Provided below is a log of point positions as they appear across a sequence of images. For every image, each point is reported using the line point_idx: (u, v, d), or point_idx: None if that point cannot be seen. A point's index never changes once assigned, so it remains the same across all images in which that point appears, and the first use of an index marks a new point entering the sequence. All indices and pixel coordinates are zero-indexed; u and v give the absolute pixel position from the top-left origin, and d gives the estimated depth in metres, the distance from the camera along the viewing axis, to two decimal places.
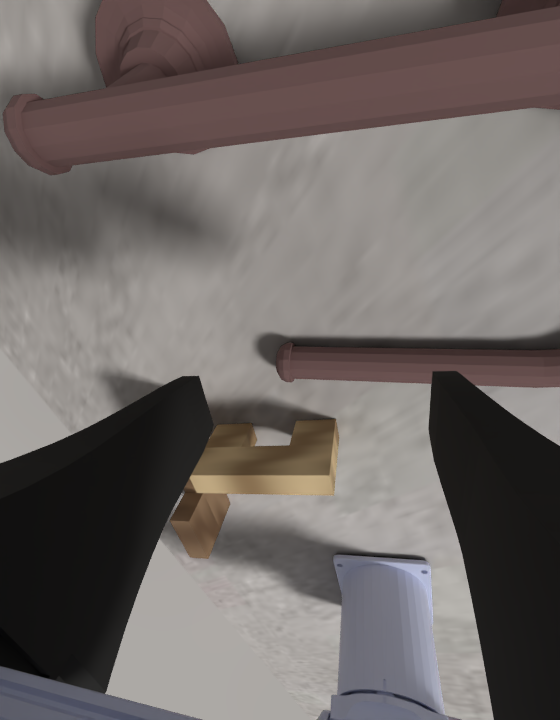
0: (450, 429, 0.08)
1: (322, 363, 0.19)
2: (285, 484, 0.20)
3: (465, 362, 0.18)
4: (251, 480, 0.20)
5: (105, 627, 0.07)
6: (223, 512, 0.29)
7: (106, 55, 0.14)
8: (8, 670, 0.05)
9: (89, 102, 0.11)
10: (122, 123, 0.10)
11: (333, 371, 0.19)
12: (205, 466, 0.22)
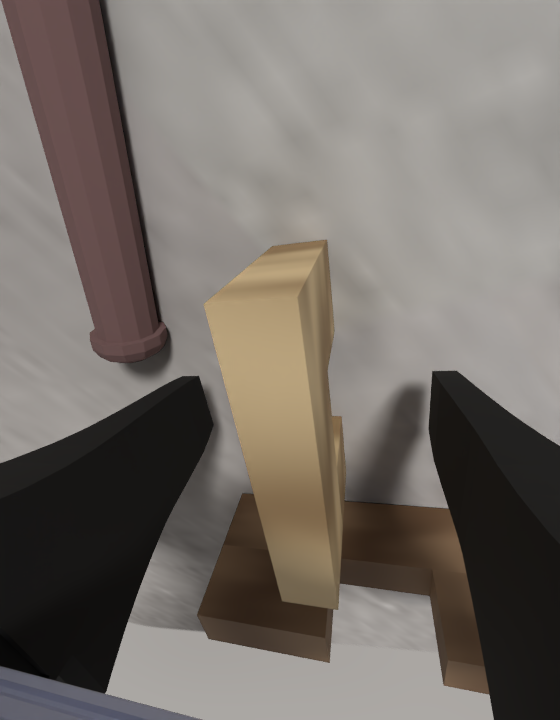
0: (450, 429, 0.08)
1: (84, 280, 0.10)
2: (273, 433, 0.07)
3: None
4: (274, 502, 0.08)
5: (105, 627, 0.07)
6: None
7: None
8: (8, 670, 0.05)
9: None
10: None
11: (87, 259, 0.09)
12: None
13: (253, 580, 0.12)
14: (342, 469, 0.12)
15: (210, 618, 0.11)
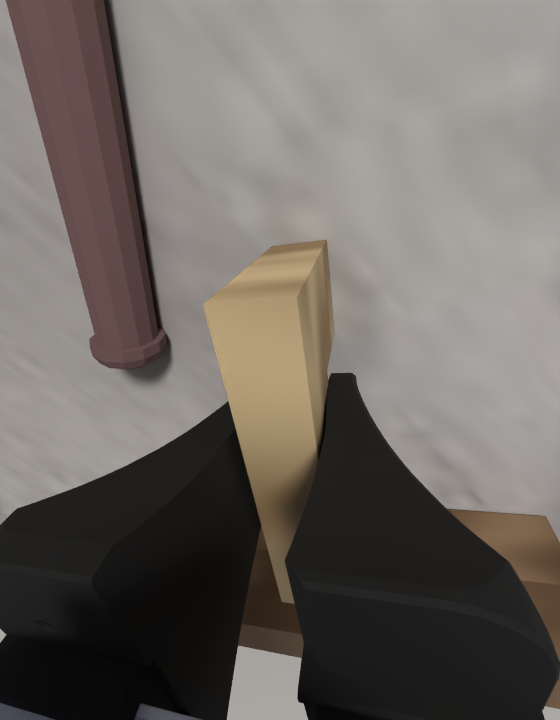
0: None
1: (85, 288, 0.10)
2: (272, 433, 0.07)
3: None
4: (273, 503, 0.08)
5: (224, 652, 0.06)
6: (546, 549, 0.12)
7: None
8: (171, 714, 0.04)
9: None
10: None
11: (89, 268, 0.09)
12: None
13: (253, 580, 0.12)
14: None
15: None
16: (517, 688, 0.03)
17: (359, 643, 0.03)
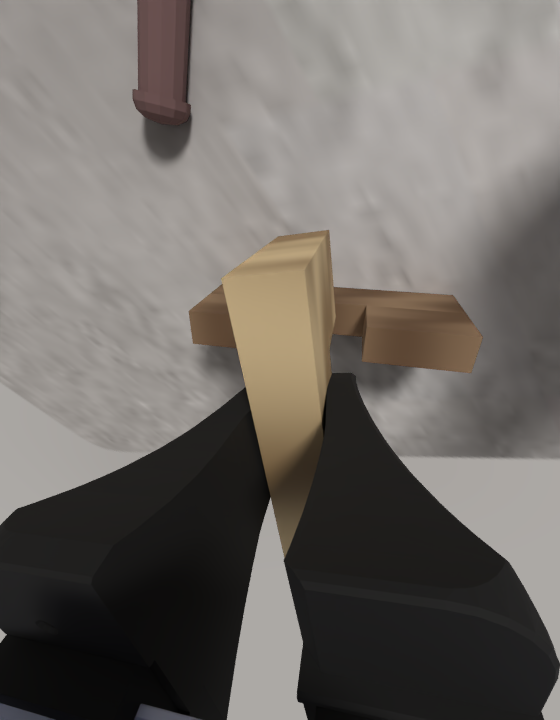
0: None
1: (142, 31, 0.13)
2: (280, 399, 0.07)
3: None
4: (280, 467, 0.08)
5: (224, 652, 0.06)
6: (448, 303, 0.16)
7: None
8: (171, 714, 0.04)
9: None
10: None
11: (150, 8, 0.13)
12: None
13: None
14: None
15: (198, 315, 0.15)
16: (516, 688, 0.03)
17: (358, 643, 0.03)
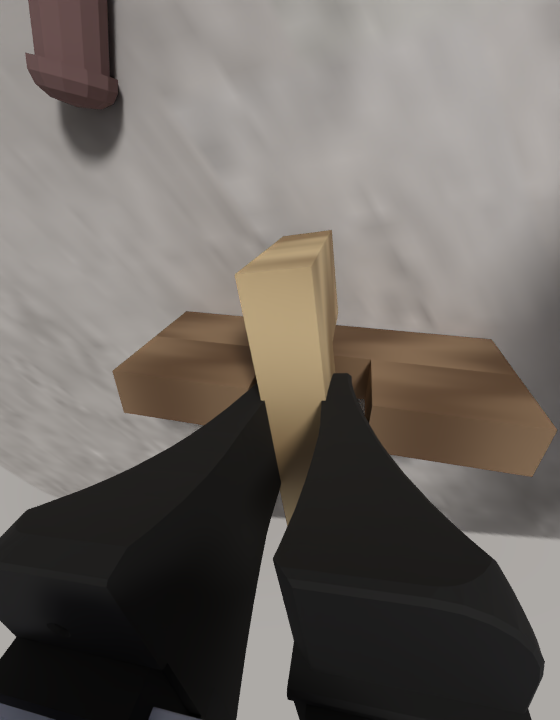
0: None
1: None
2: (288, 386, 0.08)
3: None
4: (287, 452, 0.09)
5: (233, 653, 0.06)
6: (487, 355, 0.11)
7: None
8: (184, 717, 0.04)
9: None
10: None
11: None
12: None
13: (181, 355, 0.11)
14: None
15: (127, 376, 0.10)
16: (502, 685, 0.03)
17: (346, 640, 0.03)
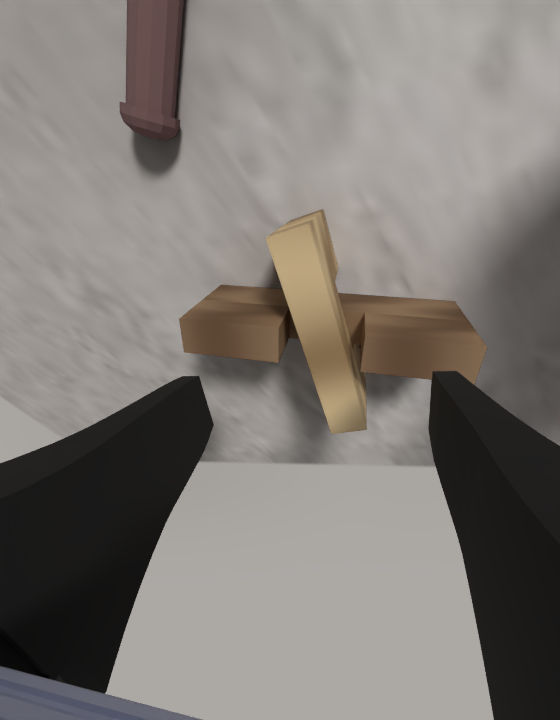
0: (450, 429, 0.08)
1: (131, 44, 0.13)
2: (308, 304, 0.13)
3: None
4: (315, 353, 0.14)
5: (105, 627, 0.07)
6: (449, 310, 0.15)
7: None
8: (8, 670, 0.05)
9: None
10: None
11: (139, 22, 0.12)
12: None
13: (226, 310, 0.15)
14: None
15: (189, 322, 0.14)
16: None
17: None
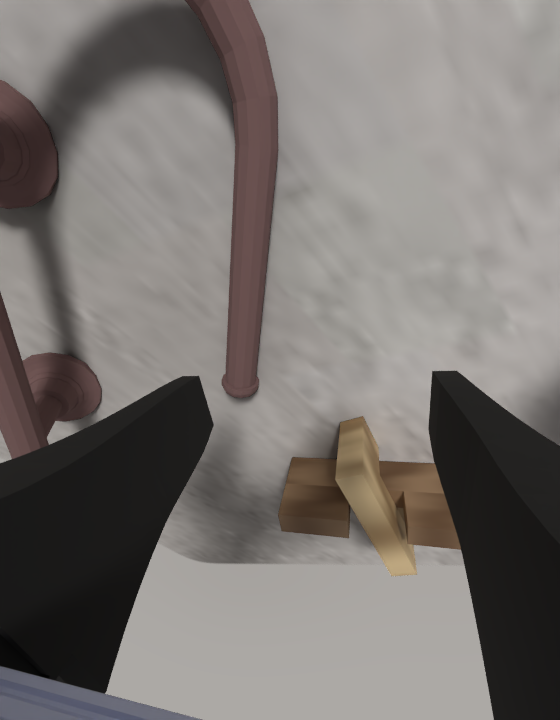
0: (450, 429, 0.08)
1: (231, 359, 0.20)
2: (366, 510, 0.19)
3: (234, 229, 0.17)
4: (374, 533, 0.20)
5: (105, 627, 0.07)
6: None
7: None
8: (8, 670, 0.05)
9: (9, 448, 0.21)
10: (11, 440, 0.20)
11: (237, 352, 0.20)
12: None
13: (306, 499, 0.22)
14: None
15: (285, 516, 0.21)
16: None
17: None
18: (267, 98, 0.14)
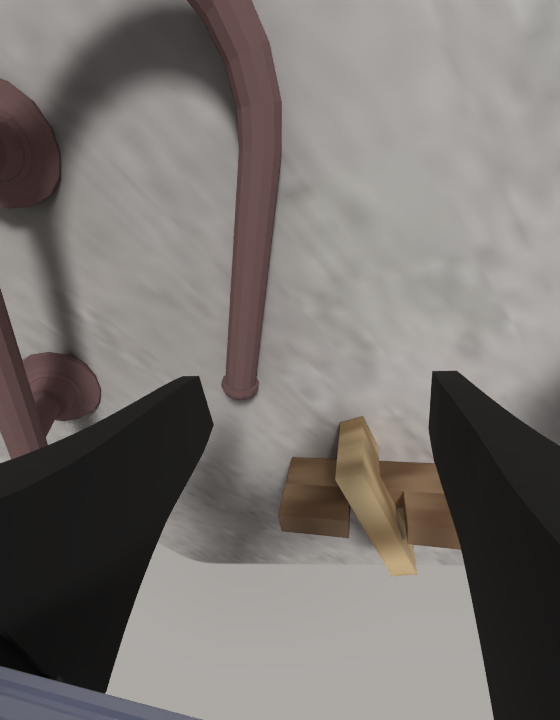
0: (450, 429, 0.08)
1: (231, 361, 0.20)
2: (366, 510, 0.19)
3: (237, 232, 0.17)
4: (374, 533, 0.20)
5: (105, 627, 0.07)
6: None
7: None
8: (8, 670, 0.05)
9: (8, 448, 0.21)
10: (10, 440, 0.20)
11: (237, 355, 0.20)
12: None
13: (306, 499, 0.22)
14: None
15: (285, 516, 0.21)
16: None
17: None
18: (271, 104, 0.14)
